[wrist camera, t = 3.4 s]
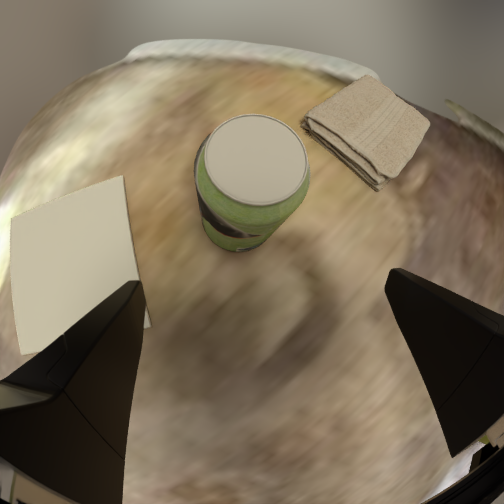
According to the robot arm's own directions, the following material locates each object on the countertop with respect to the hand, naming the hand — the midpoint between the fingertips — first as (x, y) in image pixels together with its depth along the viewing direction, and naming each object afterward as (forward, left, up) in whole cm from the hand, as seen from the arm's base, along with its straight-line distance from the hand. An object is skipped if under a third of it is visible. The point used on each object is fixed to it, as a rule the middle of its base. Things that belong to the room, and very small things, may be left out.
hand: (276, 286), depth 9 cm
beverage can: (+2, +7, -13) cm, 15 cm away
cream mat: (-14, +8, -13) cm, 21 cm away
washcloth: (+22, +16, -14) cm, 30 cm away
